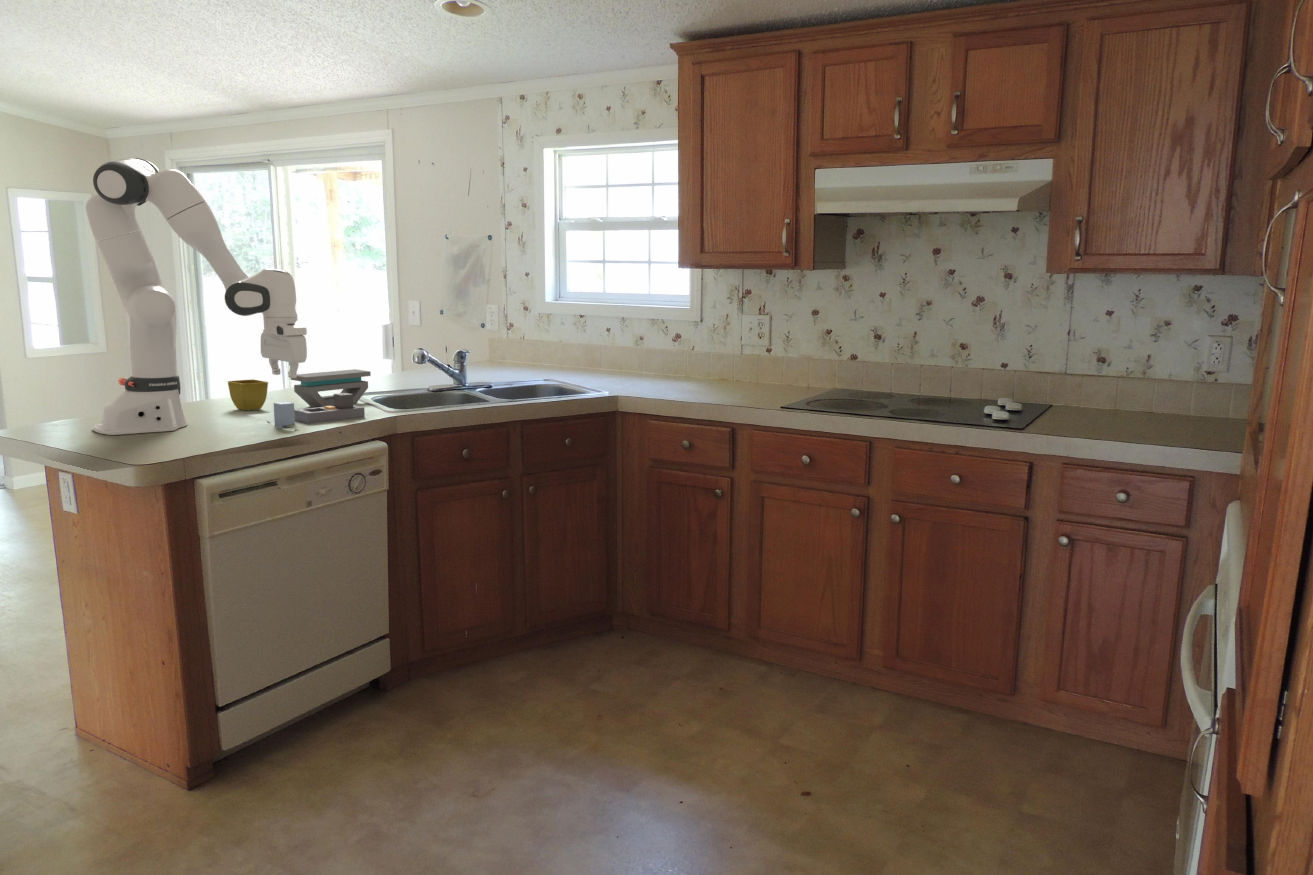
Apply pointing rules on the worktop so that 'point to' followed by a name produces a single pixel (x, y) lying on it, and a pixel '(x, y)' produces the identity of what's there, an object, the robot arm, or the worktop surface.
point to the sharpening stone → (330, 386)
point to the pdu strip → (328, 414)
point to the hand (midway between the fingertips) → (284, 376)
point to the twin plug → (343, 400)
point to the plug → (284, 414)
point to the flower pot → (248, 393)
